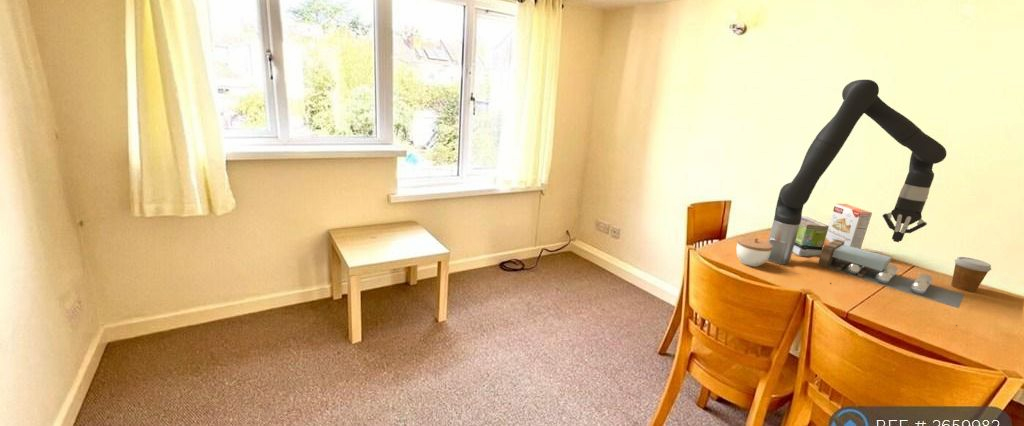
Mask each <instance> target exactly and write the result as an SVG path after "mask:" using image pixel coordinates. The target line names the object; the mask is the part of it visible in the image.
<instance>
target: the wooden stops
mask: <svg viewBox="0 0 1024 426" xmlns="http://www.w3.org/2000/svg"><path fill="white" fill-rule="evenodd" d="M844 242H845V241H841V240H837V239H836V240H834V241H833V242H831V243H829V244H827V245H826V246H825V245H823V248H822V251H821V255H820V256H819V259H818V263H817V266H818V267H822V268H825V269H826V268H827V267H829V266H830V265H832V264H833V263H835V262H836V261H838V260H839V259H838V258H835V257H832V255H833V252H834V250H835V249H836V248H838V247H839V246H841V245H844ZM850 263H851V262H849V261H845V262H843V263H842V264H841V265H839V266H838V267H836V270H838V271H841V270H842V269H844V268H845V267H846V266H848V265H849V264H850ZM827 269H828V268H827ZM871 269H872V268H870V267H866V268H864V269H863V270H862V271H861V272H860V273H858V275H857V277H856V278H858V277H861V278H862V277H863V276H864V275H866V274H867V273H868V272H869V271H870V270H871ZM838 271H837V272H838ZM861 278H860V279H861Z"/></svg>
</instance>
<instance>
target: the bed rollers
mask: <svg viewBox="0 0 1024 426" xmlns="http://www.w3.org/2000/svg"><path fill="white" fill-rule="evenodd" d="M898 272H899V268H898V266H896V265H895V264H890V263H889V265H888V266H887V267H886V268H885V269H884V270H882V271H880V272H879V273H878V274H877V275H876V277H875V279H876V281H877V282H878V283H880V284H879V285H881V284H886V283H888V282H889V281H890V280H891V279H892V278H893V277H894V275H897V274H898ZM914 280H915V281H914V283H913V284H912V285H911V287H910V290H911V292H912V293H914V294H917V295H921V294H923V293H925V291H926V290H927V288H928V287H929V285H932V283H933V280H934V279H933V277H932V276H931V275H930V274H928V273H921V274H919V275H918V276H917V277H916V279H914ZM917 295H916V296H917Z"/></svg>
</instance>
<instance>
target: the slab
mask: <svg viewBox="0 0 1024 426" xmlns="http://www.w3.org/2000/svg"><path fill="white" fill-rule="evenodd" d="M832 257H835V258H838V260H839V259H842V260H845V261H849V262H852V263H856V264H859V265H863V266H866V267H870V268H873V269H877V270H880V271H882V270H884V269H885V268H886V267H887V266H888V265H890V263H891V260H892V256H889V255H884V254H881V253H876V252H873V251H869V250H866V249H858V248H854V247H851V246H847V245H841V246H839V247H838V248H836V249H835V250H834V252H833V255H832Z"/></svg>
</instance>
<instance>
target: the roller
mask: <svg viewBox="0 0 1024 426" xmlns="http://www.w3.org/2000/svg"><path fill="white" fill-rule="evenodd" d="M865 267H866V266H863V265H859V264H856V263H851V264H850V265H848V266H847V267H846V271H847V273H849V274H851V275H855V274H857V273H859V272H860V271H861V270H862V269H863V268H865ZM851 275H850V276H851Z"/></svg>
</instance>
